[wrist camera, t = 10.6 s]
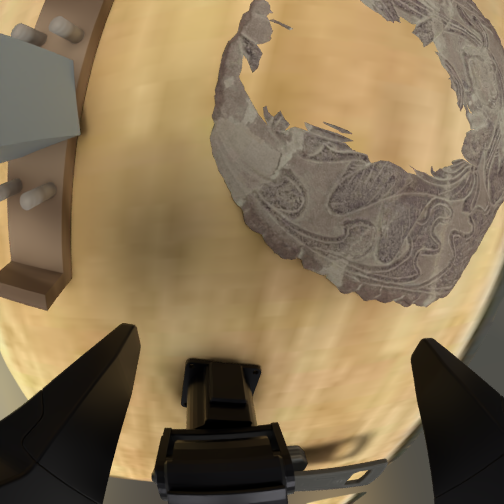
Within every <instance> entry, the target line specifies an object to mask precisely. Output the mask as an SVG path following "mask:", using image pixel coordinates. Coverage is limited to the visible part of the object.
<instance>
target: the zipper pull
mask: <svg viewBox="0 0 504 504" xmlns="http://www.w3.org/2000/svg"><path fill="white" fill-rule="evenodd" d="M287 448H288V451H289V454H290V456H291V460H292V464H293V469H294V475H295V491H314V490H328V489H339V488H348V487H356V486H363V485H368V484H369V483H371V482H372V481H374V480H375V479H376V478H377V477H378V476H379V475H380V474H381V473H382V472H383V471H384V469H385V468H386V466H387V463H388V462H387V459H380V460H375V461H370V462H365V463H360V464H355V465H349V466H342V467H335V468H327V469H318V470H308V471H303V470H304V469H305V468H306V466H307V464H308V463H307V459H306V456H305V452H304V451H303V450H302V449H301V448H300V447H299V446H287ZM365 470H368V471H367V472H366V473H365V475H363V476H362V477H361V478H359V479H356V480H350V481H347V480H348V479H349V478H350V477H351V476H352V475H353V474H354V473H356V472H359V471H365Z"/></svg>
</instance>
